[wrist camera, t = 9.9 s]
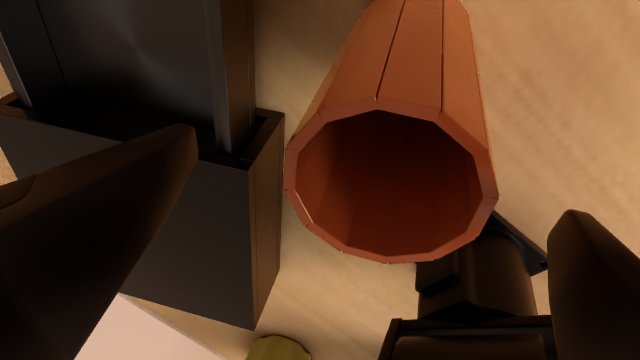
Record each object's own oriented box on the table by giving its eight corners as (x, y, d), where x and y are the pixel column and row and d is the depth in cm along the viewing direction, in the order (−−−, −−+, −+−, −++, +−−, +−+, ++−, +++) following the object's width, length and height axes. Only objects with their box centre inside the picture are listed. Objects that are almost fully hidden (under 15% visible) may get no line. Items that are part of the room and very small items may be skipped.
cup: (497, 38, 17) (547, 200, 9) (411, 115, 20) (389, 286, 12) (410, -47, 16) (373, 47, 8) (333, 49, 19) (249, 188, 11)
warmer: (60, 66, 24) (-21, 108, 20) (285, 113, 22) (247, 171, 18) (118, 226, 34) (71, 278, 29) (279, 269, 32) (254, 331, 27)
